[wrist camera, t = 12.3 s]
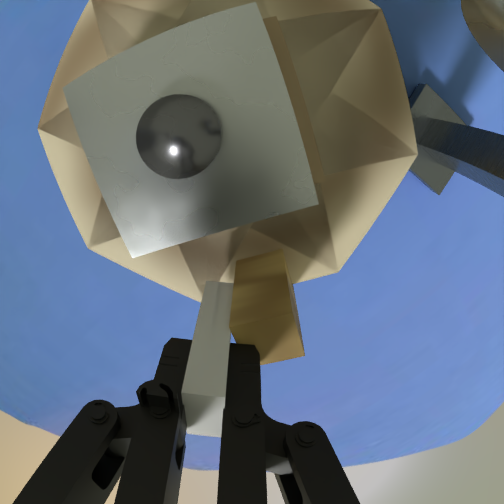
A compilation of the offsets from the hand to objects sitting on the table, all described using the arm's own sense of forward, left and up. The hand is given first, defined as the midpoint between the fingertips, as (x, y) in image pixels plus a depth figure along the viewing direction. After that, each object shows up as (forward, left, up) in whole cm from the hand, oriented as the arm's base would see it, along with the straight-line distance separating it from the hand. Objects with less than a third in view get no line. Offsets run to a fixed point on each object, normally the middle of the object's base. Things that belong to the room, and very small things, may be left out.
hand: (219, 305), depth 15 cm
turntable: (-4, +7, -4) cm, 9 cm away
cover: (-5, +7, -2) cm, 8 cm away
